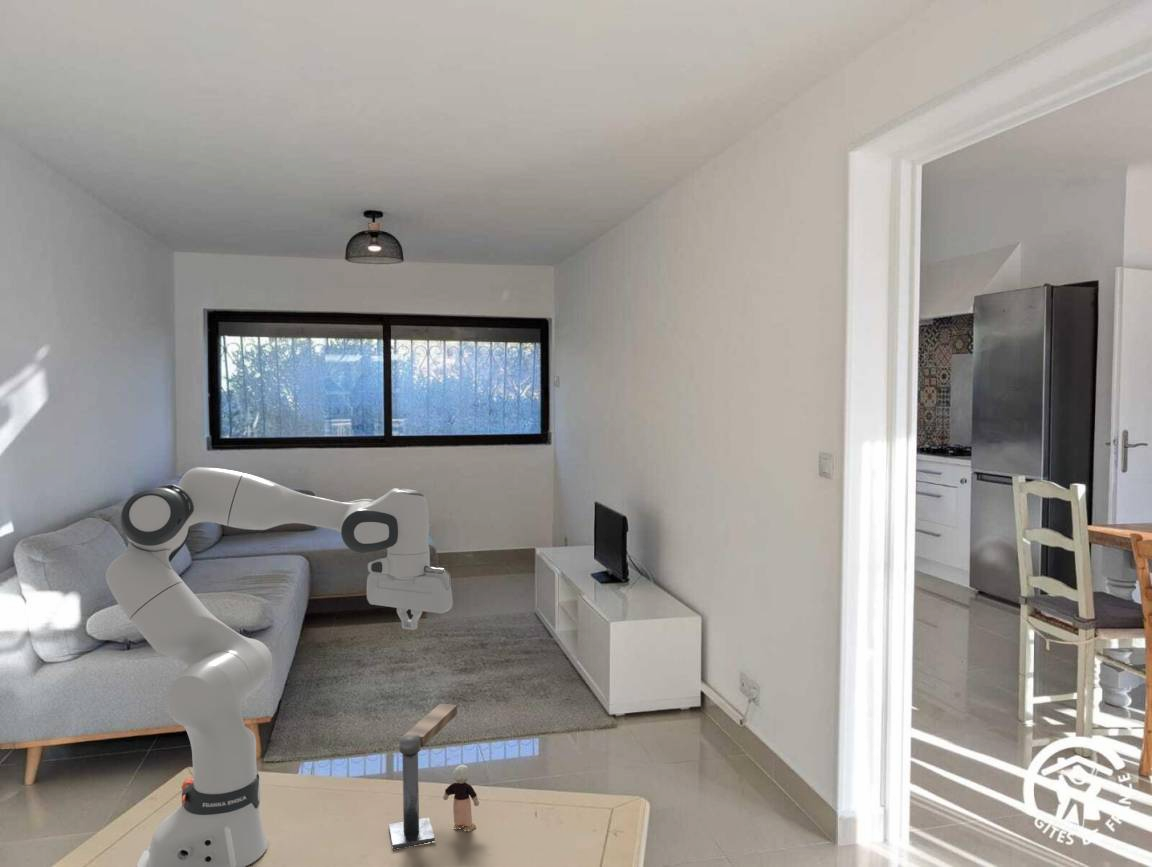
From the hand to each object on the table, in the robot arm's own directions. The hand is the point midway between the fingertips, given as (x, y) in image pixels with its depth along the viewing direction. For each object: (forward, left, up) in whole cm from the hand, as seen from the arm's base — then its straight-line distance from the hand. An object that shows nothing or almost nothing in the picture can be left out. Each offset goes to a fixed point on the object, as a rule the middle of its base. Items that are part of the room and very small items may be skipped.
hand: (409, 628), depth 175 cm
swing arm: (+3, -8, -20) cm, 22 cm away
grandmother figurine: (+8, -15, -37) cm, 41 cm away
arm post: (-2, -15, -37) cm, 40 cm away
